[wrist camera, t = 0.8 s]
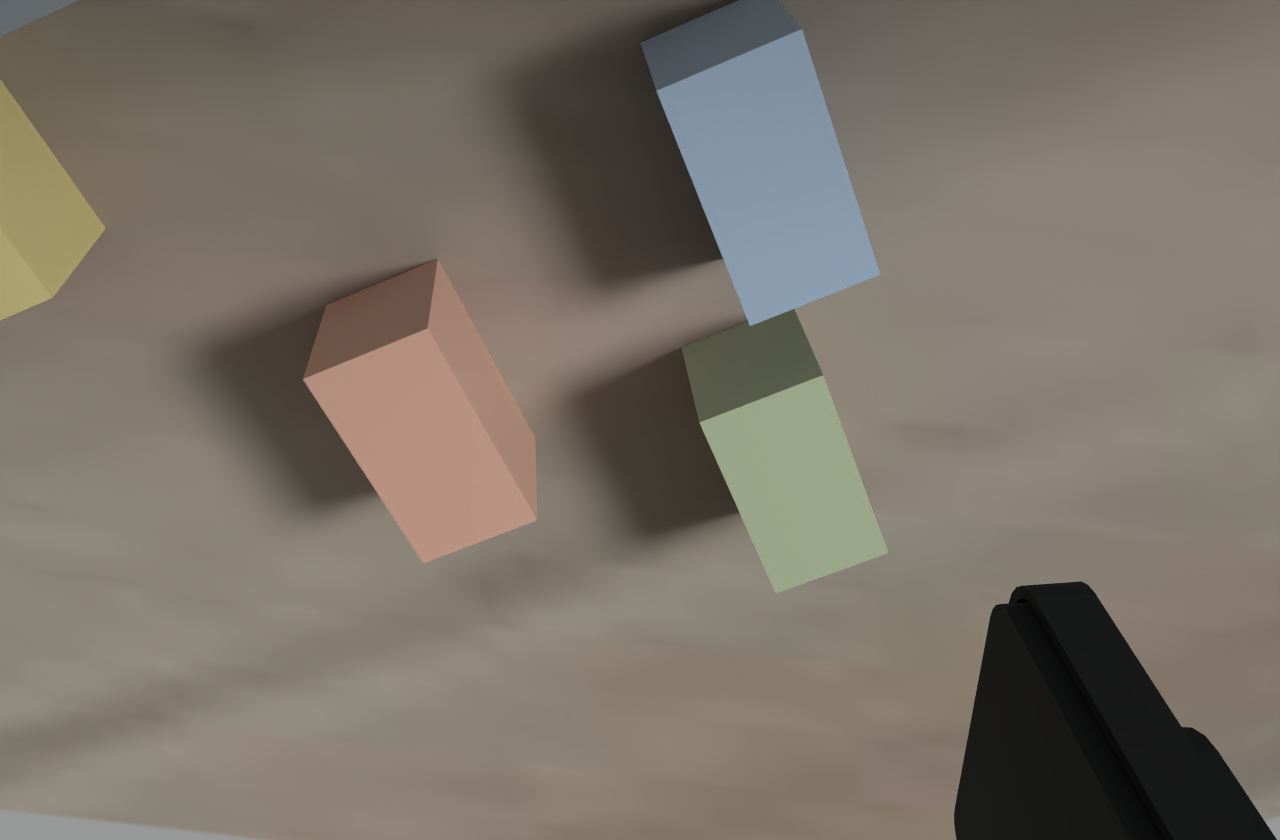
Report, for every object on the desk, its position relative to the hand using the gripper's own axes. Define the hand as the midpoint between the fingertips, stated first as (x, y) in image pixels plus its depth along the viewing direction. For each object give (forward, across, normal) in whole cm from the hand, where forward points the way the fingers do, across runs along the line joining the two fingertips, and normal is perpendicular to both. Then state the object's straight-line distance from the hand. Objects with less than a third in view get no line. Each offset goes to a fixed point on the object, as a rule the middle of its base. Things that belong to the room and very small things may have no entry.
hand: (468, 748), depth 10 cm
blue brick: (+21, -6, +2) cm, 22 cm away
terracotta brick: (+21, +2, +8) cm, 23 cm away
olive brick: (+21, -7, +10) cm, 24 cm away
